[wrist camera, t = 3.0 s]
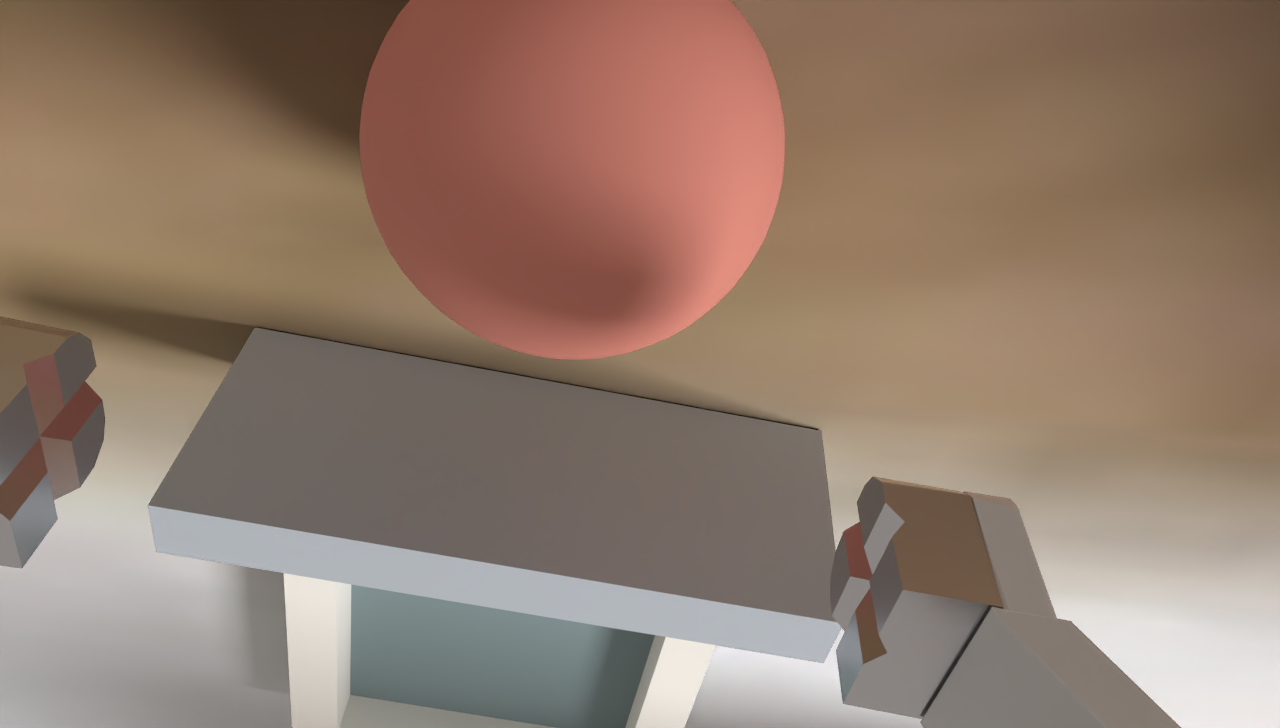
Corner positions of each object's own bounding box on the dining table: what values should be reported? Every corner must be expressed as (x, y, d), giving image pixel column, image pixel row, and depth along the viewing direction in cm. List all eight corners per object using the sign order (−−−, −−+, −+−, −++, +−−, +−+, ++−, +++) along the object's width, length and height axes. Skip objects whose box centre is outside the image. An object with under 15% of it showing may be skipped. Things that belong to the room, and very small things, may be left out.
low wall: (254, 327, 21) (148, 505, 17) (821, 430, 22) (843, 623, 18) (257, 371, 22) (156, 551, 18) (805, 470, 22) (823, 663, 19)
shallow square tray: (306, 443, 23) (279, 501, 21) (740, 520, 24) (741, 581, 22) (314, 693, 29) (293, 751, 28) (656, 747, 30) (653, 807, 28)
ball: (425, -164, 15) (291, -35, 10) (822, -79, 15) (866, 84, 11) (408, 190, 19) (304, 403, 14) (727, 252, 19) (729, 480, 14)
